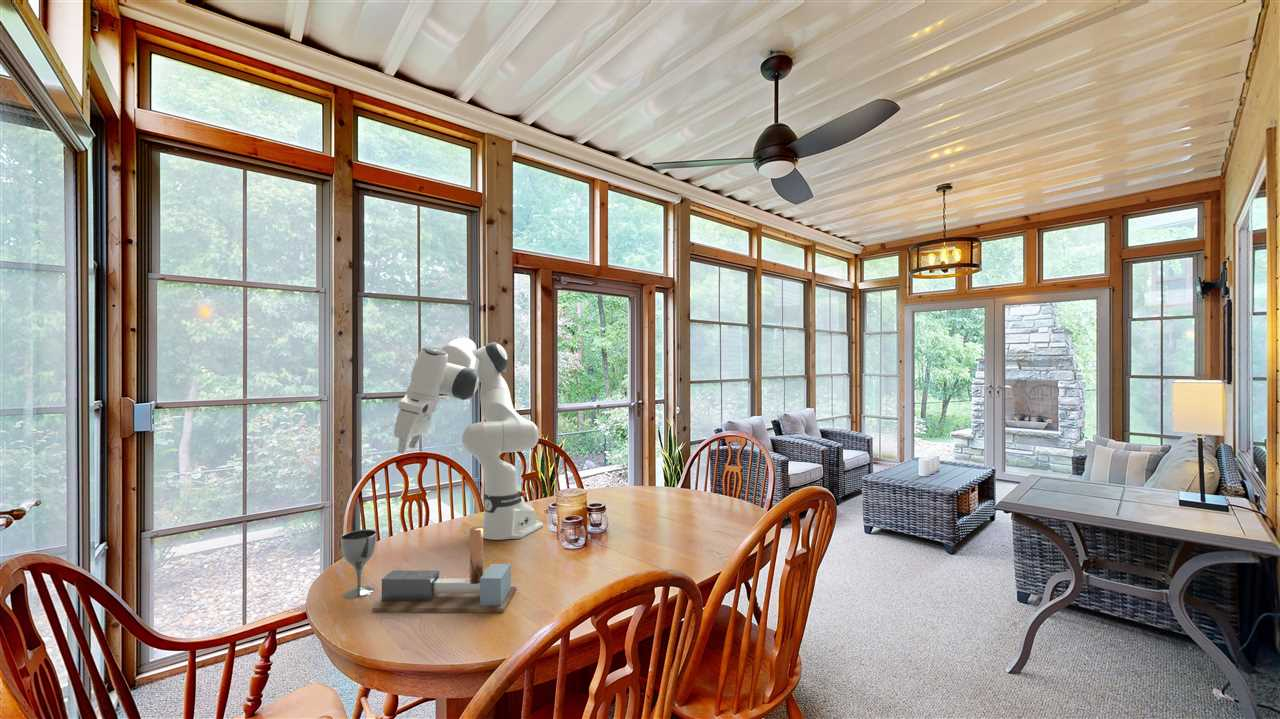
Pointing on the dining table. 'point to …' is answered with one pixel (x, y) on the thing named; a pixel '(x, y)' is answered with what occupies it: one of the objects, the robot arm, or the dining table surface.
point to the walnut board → (444, 604)
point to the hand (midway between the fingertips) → (406, 450)
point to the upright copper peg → (475, 569)
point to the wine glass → (358, 557)
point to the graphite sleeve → (408, 586)
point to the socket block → (495, 584)
